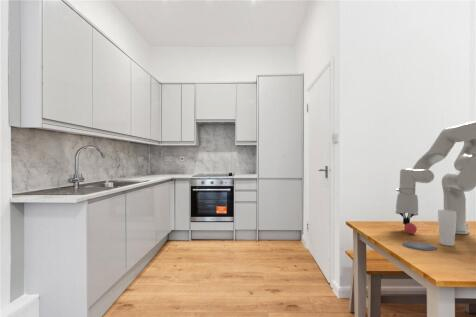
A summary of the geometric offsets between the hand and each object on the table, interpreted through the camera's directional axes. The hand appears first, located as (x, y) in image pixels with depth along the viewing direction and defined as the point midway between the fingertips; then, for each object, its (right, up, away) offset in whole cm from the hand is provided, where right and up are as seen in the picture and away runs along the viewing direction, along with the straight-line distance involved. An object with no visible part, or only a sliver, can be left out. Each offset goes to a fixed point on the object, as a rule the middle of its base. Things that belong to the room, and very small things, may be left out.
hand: (406, 225), depth 161 cm
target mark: (-13, -2, -32) cm, 34 cm away
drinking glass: (+2, -2, -29) cm, 29 cm away
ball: (-3, 0, -9) cm, 9 cm away
